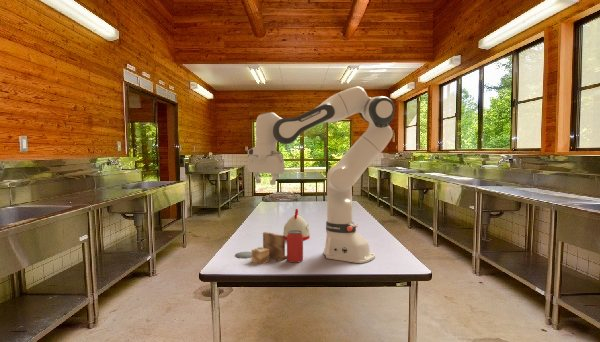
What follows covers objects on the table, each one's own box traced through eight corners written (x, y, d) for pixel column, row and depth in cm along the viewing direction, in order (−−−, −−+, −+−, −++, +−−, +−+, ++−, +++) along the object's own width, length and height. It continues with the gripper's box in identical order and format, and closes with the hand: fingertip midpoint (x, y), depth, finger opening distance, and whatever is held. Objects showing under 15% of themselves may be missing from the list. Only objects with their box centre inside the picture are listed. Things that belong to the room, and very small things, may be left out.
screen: (287, 258, 142) (287, 234, 141) (279, 261, 138) (279, 237, 137) (268, 253, 149) (268, 231, 148) (260, 256, 145) (260, 233, 144)
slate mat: (260, 254, 147) (260, 254, 147) (244, 259, 140) (244, 259, 140) (245, 250, 153) (245, 250, 153) (230, 255, 146) (230, 255, 146)
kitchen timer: (310, 234, 184) (310, 207, 183) (308, 241, 170) (308, 211, 170) (285, 234, 185) (285, 207, 185) (281, 240, 172) (281, 211, 171)
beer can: (294, 257, 144) (294, 229, 143) (306, 260, 140) (306, 231, 139) (283, 260, 139) (283, 231, 138) (295, 264, 135) (295, 234, 134)
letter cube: (269, 261, 139) (269, 248, 139) (260, 264, 135) (260, 251, 135) (260, 258, 142) (260, 246, 142) (251, 261, 138) (251, 248, 138)
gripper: (288, 151, 138) (287, 185, 139) (256, 151, 152) (256, 181, 153) (276, 151, 134) (276, 186, 134) (245, 150, 148) (244, 182, 148)
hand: (265, 183), depth 144 cm, fingers open, 8 cm apart
